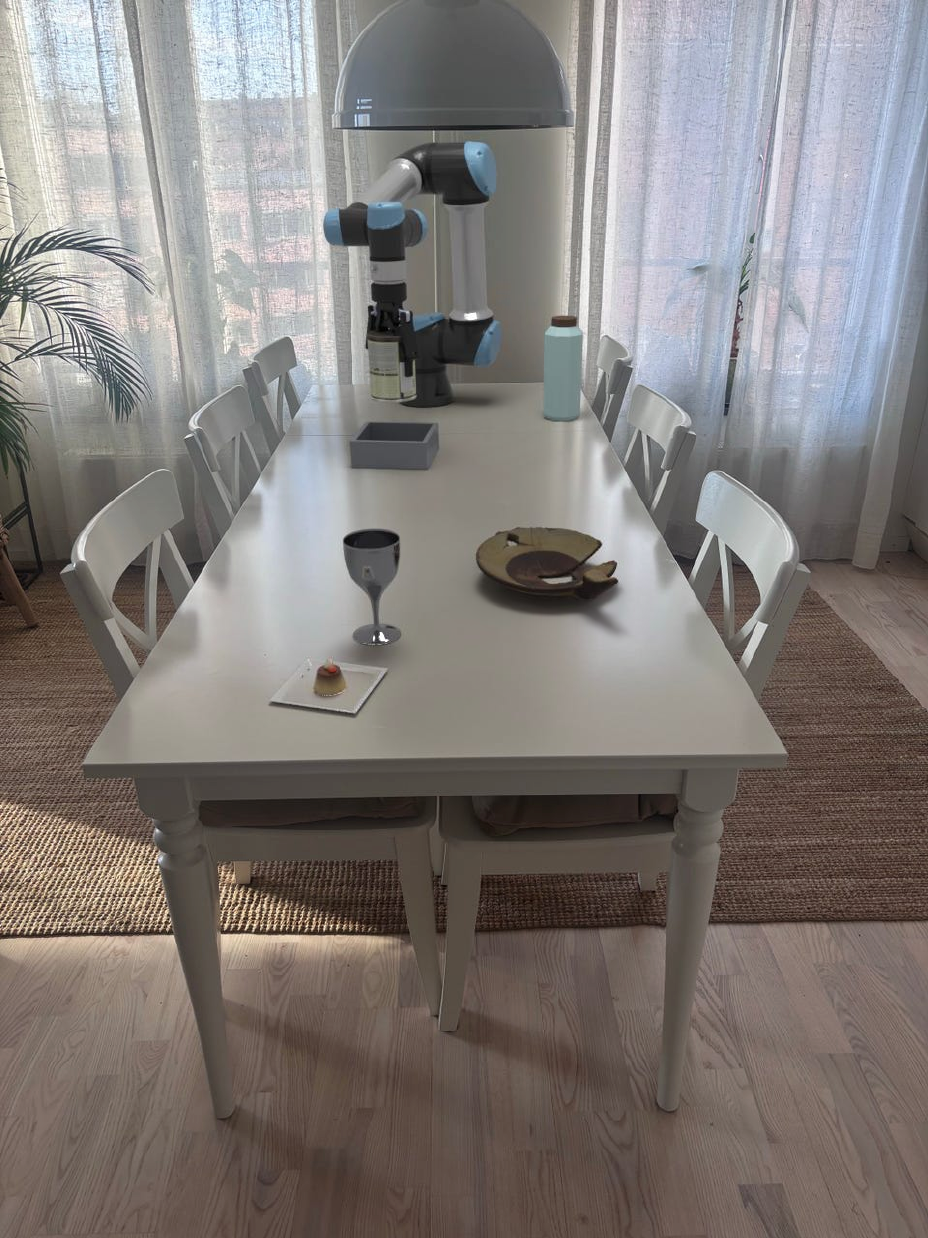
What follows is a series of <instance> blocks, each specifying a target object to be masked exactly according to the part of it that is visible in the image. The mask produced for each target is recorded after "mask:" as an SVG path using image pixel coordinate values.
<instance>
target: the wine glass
mask: <svg viewBox="0 0 928 1238" xmlns="http://www.w3.org/2000/svg"><path fill="white" fill-rule="evenodd" d="M342 547H343V555H344V556H343V557H344V561H345V566H346V568H347V571H348V575H349V577H350V579H351V580H352V581H353V582H354V584H356V586H358V587H359V588H360V589H361V590H363V592H364V593H365V594H366V595H367V597H368V599H369V601H370V604H371V609H372V615H373V616H372V617H373V623H369V624H365V625H362V626H359V627H358V628H356V629H355V630H354V632H353V633H352V638H354V639H355V640H357V641H358V642H360V643H359V644H361V643H366V644H375V645H378V644H385V643H389V644H392V643H394V642H396V641H397V640H399V639H400V638H401V636H402V631H401V629H400V628H399V627H398V626H396V625H393V624H389V623H384V622H383V623H382V622H380V619H379V618H380V617H379V614H380V601H381V598H382V595H383V593H384V592H385V591H386V590H387V588H388V587H389V586H390V585H391V583H393V581H394V580H395V579H396V577H397V575H398V571H399V566H400V560H401V539H400V535H399V534H398V533H397V532H396V531H393V530H391V529H386V528H365V529H364V528H363V529H358V530H354V531H352V532H349V533H347V534H346V535H345V536H344V537H343V539H342ZM354 639H353V640H354ZM355 640H354V641H355ZM358 642H357V643H358ZM391 642H392V643H391ZM385 645H386V644H385ZM378 646H379V645H378Z"/></svg>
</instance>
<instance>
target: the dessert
mask: <svg viewBox="0 0 928 1238" xmlns="http://www.w3.org/2000/svg"><path fill="white" fill-rule="evenodd" d="M312 665H313V666H320V667H319V668H318V667H317V670H316V675H315V679H314V684H313V687H312V690H313V689H314V691H315V692H316V693H317V694H316V693H315V692H314V691H313V692H314V693H315V694H316V695H318V694H319V695H318V696H320V695H323V696H322V697H330V696H329V695H334V694H337V693H339V692H342V691H343V690H344V689H345V688H346V684H347V681H346V679H345V677H344V673H343V671H341V669H340V667H341V668H351V669H352V668H358V669H359V668H361V669H366V670H367V669H371V670H375V671H376V670H380V671H382V672H381V673H380V674H379V676H378V677H377V678H378V679H377V680H376V681H375V682H374V684H373V685H372V686H371V687H370V688H369V689H368V691H367V692H366V693H365V694H364V696H363V697H362V698H361V699H360V701H359V702H358V703H357V705H356V706H355V707H354V708H355V709H354V710H353V711H348V709H341V708H335V707H329V706H328V707H327V706H319V705H314V704H306V703H299V702H294V703H293V702H291V701H287V702H286V700H285V701H284V700H283V701H281V700H282V697H283V696H284V695H285V692H286V691H287V690H288V688H289V687H290V685H292V683H293V682H294V681H296V680H295V679H297V678H300V677H302V675H303V674H304V673H305V671H306V670H307V669H309V668H308V667H310V666H312ZM388 670H389V669H388V668H387V667H380V666H379V667H378V666H371V665H363V664H356V663H355V664H354V663H350V662H349V663H347V662H342V661H341V662H340V661H334V660H333V659H330V658H326V659H319V658H318V659H317V658H310V657H306V659H304V661H303V662H302V663H301V664H300V665H299V666H298V667H297V668H296V669H295V670H294V672H293V673H292V674H291V675H290V676H289V677H288V678H287V679H286V680H285V682H283V684H282V685H281V686H280V687H279V688H278V690H277V691H276V692H275V693H273V695H272V696H271V697H270V698H269V700H268V702H272V703H276V704H277V703H279V704H284V705H290V704H291V705H292V706H297V705H298V706H297V707H306V708H313V709H318V708H319V709H318V710H325V709H326V711H332V710H333V712H339V711H340V712H341V713H346V712H347V714H356V713H357V712H358V711H359V709H361V707H362V705H363V704H364V702H365V701H366V700H367V699H368V697H369V696H370V694H371V692H373V691H374V689H375V687H377V685H378V684H379V682H380V681H381V679H382V678H383V676H384V675H385V674H386V672H388ZM324 695H325V696H324ZM326 695H328V696H326ZM340 712H339V713H340Z"/></svg>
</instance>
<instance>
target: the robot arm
mask: <svg viewBox="0 0 928 1238" xmlns="http://www.w3.org/2000/svg"><path fill="white" fill-rule="evenodd" d="M497 181H498V171H497V164H496V161H495V156H494V154H493V152H492V150H491V148H490V147H489V145H488V144H486V143H484V142H480V141H477V142H476V141H451V142H450V141H449V142H448V141H447V142H446V141H445V142H434V141H433V142H425V143H421V144H418V145H416V146H413V147H411V148H409V149H408V150H406V151H403V152H402V153H400V154H399V155H397V156H395V158H393V159H392V160H391V161H390V162H389V163H388V164H387V166H386V168H385V170H384V174H382V175H381V176H380V177H379V178H377V180H376V181H374V182H373V183H372V184H371V185H370V186H369V187H368V188H367V189H365V190H364V192H362V193H361V194H360V195H359V196H358V197H357V198H356V199H355V200H353V201H352V202H351V203H350V204H349V205H348V206H347V207H346V208H342V209H341V208H336V209H329V210H327V211H326V212H325V214H324V218H323V222H322V223H323V224H322V225H323V226H322V228H323V229H322V230H323V234H324V238H325V240H326V241H327V242H328V244H330V245H331V246H338V247H339V246H340V247H343V248H345V247H368V249H369V270H370V273H369V274H370V280H371V281H372V282H371V284H370V293H371V294H370V295H371V300H372V302H375V304H369V305H367V315H368V316H367V317H368V318H367V327H366V336H365V337H366V338H365V345H364V346H365V349H366V350H367V351H368V338H367V333H368V332H370V331H374V330H375V331H376V332H383V331H388V329H390V331H391V332H392V333H393V334H394V336H403V341H404V342H402V341H399V351H400V355H401V358H402V359H401V360H400V383H401V392H402V393H404V392H410V391H413V361H414V360H415V376H416V395H417V397H416V398H415V399H413V400H410V401H406V402H399V404H402V405H405V406H408V407H415V408H423V407H424V408H429V407H430V408H432V407H441V406H445V405H448V404H451V403H453V401H454V391H453V388H452V385H451V381H450V379H449V376H448V373H447V365H454V366H455V365H457V366H458V365H459V366H473V367H488V366H490V365H492V364H493V363H494V362H495V360H496V359H497V357H498V354H499V350H500V347H501V342H502V333H503V331H502V325H501V324H502V323H501V322H499V321H498V320H494V312H493V311H492V310H491V308H489V307H488V294H487V291H488V290H487V269H486V268H487V266H486V264H487V263H486V243H485V242H486V240H485V237H486V236H485V216H484V215H485V213H484V209H485V207H486V206H487V205H488V204H489V203H490V197H491V196H492V195H493V194H494V193H495V192H496V189H497ZM421 195H423V196H424V195H435V196H436V195H438V196H440V195H441V199H442V206H444V207H445V208H446V209H447V210H448V214H449V215H448V216H449V232H450V233H449V234H450V235H449V236H450V247H451V248H450V249H451V251H450V252H451V254H450V255H451V269H452V271H451V272H452V288H453V303H454V304H453V305H454V307H453V310H452V311H450V313H449V314H448V315H449V316H448V319H447V316H446V313H444V312H439V311H438V312H428V313H421V314H416V315H414V313H413V311H412V310H404V306H403V303H404V302H405V301H406V300H407V298H408V292H407V290H408V289H407V283H406V282H405V281H406V280H407V262H406V261H407V260H406V248H413V247H416V246H417V245H419V244H420V243H423V241H424V240H425V239H426V236H427V234H428V231H429V230H428V229H429V228H428V227H429V226H428V221H427V219H426V217H425V215H424V214H423V212H421V211H419V210H418V209H414V208H404V206H403V203H405V201H410V200H412V199H415V198H416V196H421ZM413 353H414V354H413Z"/></svg>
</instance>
